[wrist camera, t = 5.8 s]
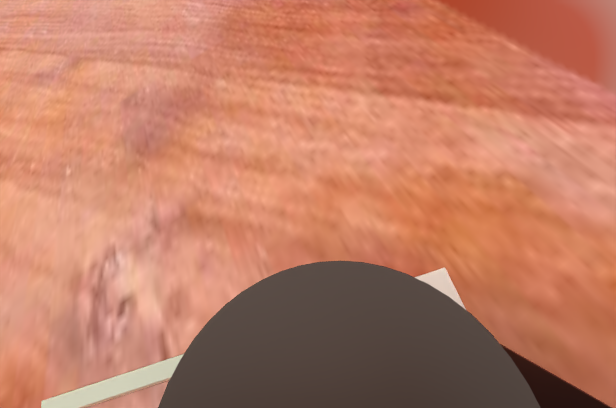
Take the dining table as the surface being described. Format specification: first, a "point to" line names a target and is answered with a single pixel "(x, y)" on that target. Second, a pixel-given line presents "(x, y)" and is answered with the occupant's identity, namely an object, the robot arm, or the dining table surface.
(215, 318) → the grey cylinder
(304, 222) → the dining table surface
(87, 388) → the frame
